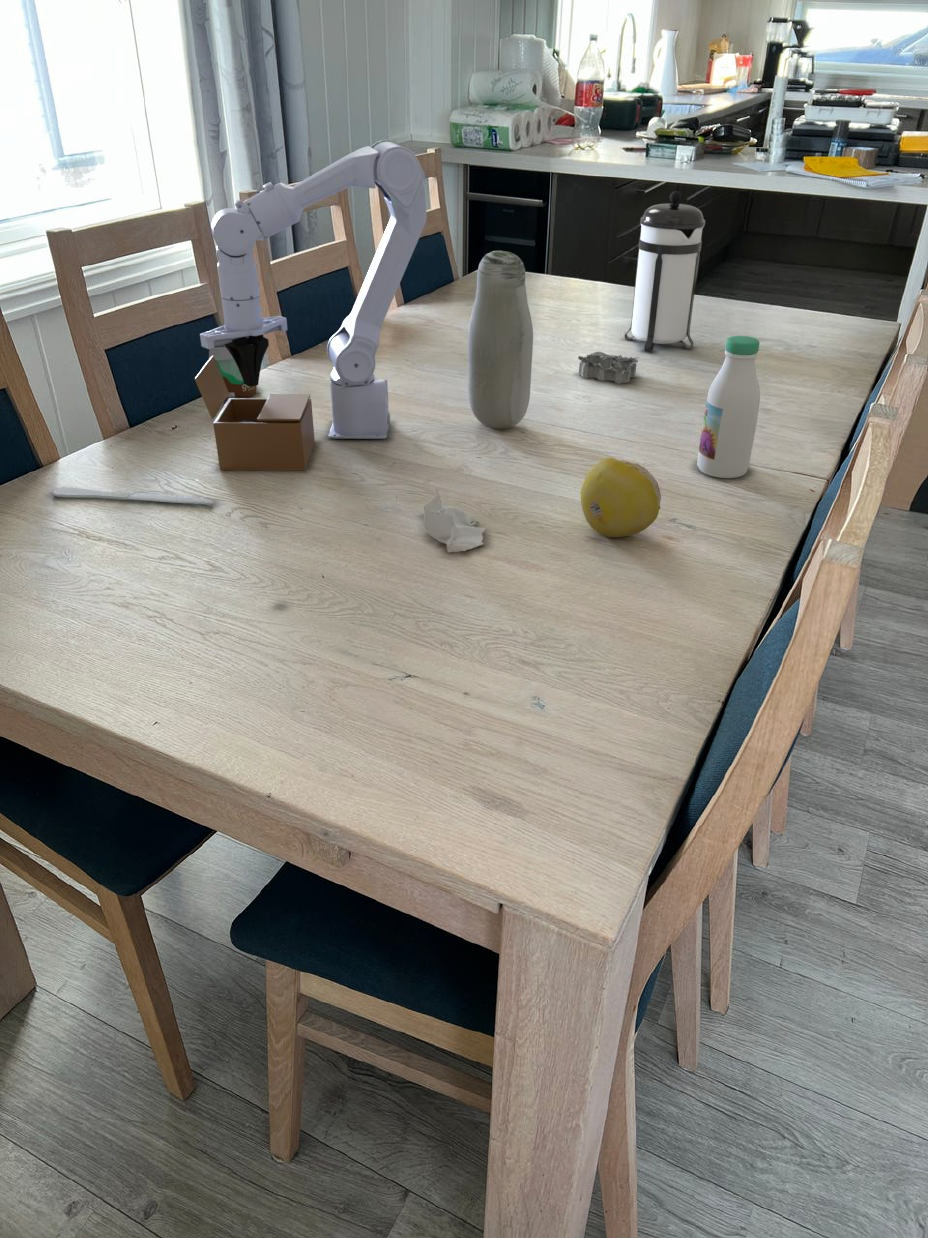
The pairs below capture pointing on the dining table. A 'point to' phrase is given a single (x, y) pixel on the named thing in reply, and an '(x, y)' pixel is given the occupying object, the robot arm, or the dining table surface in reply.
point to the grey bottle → (500, 342)
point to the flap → (212, 386)
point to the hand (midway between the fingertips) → (251, 384)
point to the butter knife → (127, 496)
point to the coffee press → (666, 273)
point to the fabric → (451, 526)
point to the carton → (265, 433)
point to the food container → (231, 374)
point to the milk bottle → (731, 412)
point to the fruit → (619, 498)
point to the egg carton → (608, 367)
